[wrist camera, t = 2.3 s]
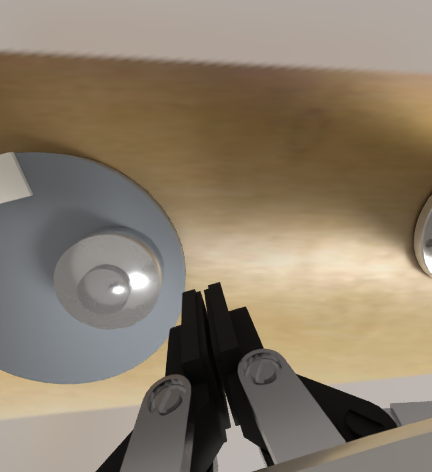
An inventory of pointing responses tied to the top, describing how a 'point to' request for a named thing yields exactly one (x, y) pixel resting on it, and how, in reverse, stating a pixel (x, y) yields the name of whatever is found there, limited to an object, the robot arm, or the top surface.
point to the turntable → (48, 254)
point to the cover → (110, 278)
